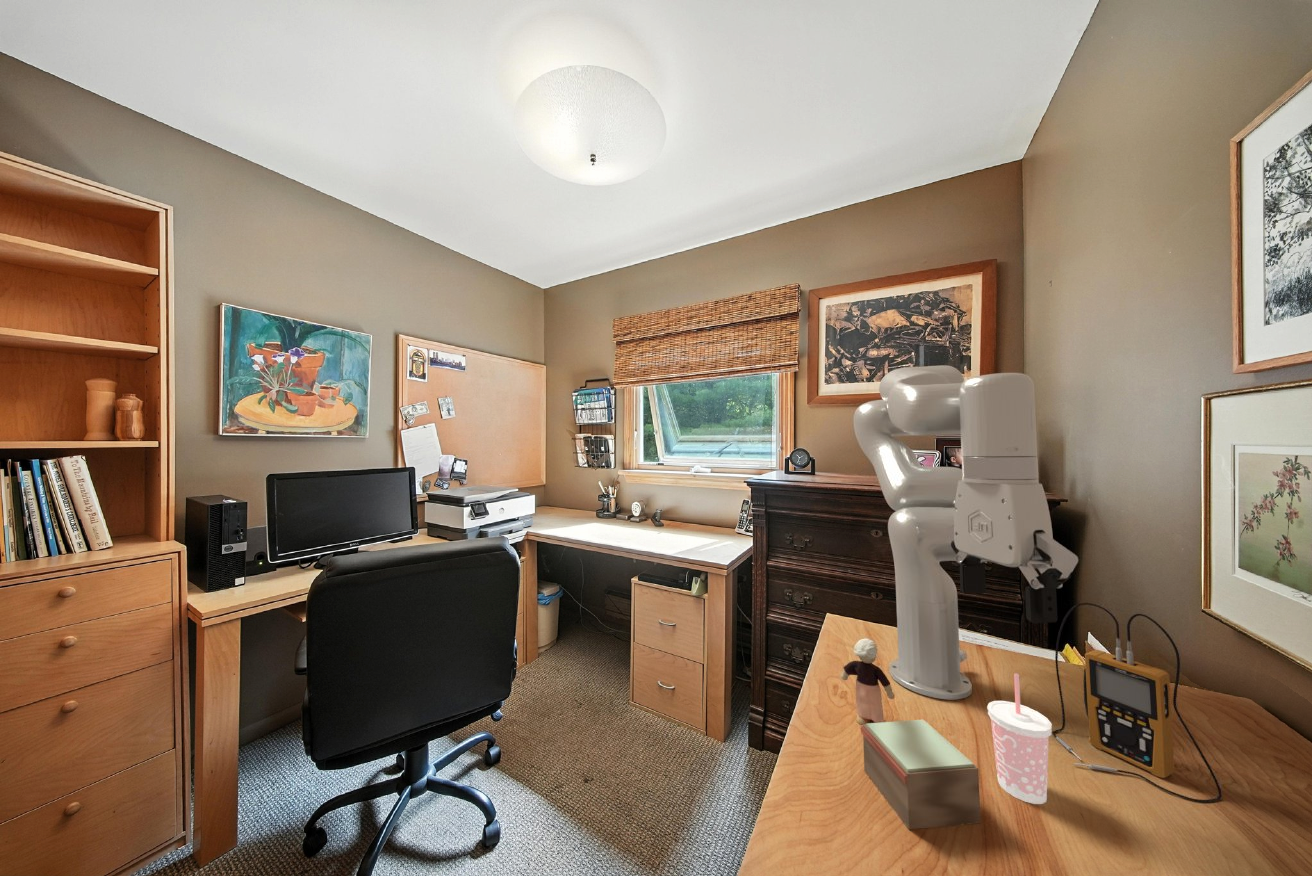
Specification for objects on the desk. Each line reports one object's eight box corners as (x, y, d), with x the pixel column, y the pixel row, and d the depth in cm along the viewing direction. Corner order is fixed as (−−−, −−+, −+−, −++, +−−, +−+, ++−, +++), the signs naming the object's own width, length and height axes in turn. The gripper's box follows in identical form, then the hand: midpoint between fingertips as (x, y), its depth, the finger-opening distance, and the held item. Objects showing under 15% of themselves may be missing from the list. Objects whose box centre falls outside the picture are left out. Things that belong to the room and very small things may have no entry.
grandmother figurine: (897, 723, 64) (894, 640, 65) (895, 737, 61) (892, 650, 62) (843, 707, 69) (841, 629, 69) (839, 719, 65) (836, 638, 66)
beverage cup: (980, 766, 55) (975, 660, 56) (1033, 773, 54) (1028, 664, 55) (1008, 805, 49) (1003, 684, 50) (1069, 813, 48) (1063, 690, 49)
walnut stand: (925, 765, 56) (923, 717, 56) (980, 822, 47) (978, 765, 47) (862, 770, 55) (860, 722, 55) (906, 829, 46) (904, 771, 47)
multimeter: (1029, 743, 60) (1022, 602, 60) (1065, 724, 64) (1059, 592, 64) (1190, 827, 46) (1179, 644, 47) (1224, 797, 50) (1213, 628, 51)
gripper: (923, 468, 62) (928, 585, 61) (1035, 475, 44) (1043, 637, 44) (972, 468, 62) (976, 583, 61) (1101, 473, 45) (1110, 634, 44)
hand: (1004, 605), depth 53 cm, fingers open, 9 cm apart
